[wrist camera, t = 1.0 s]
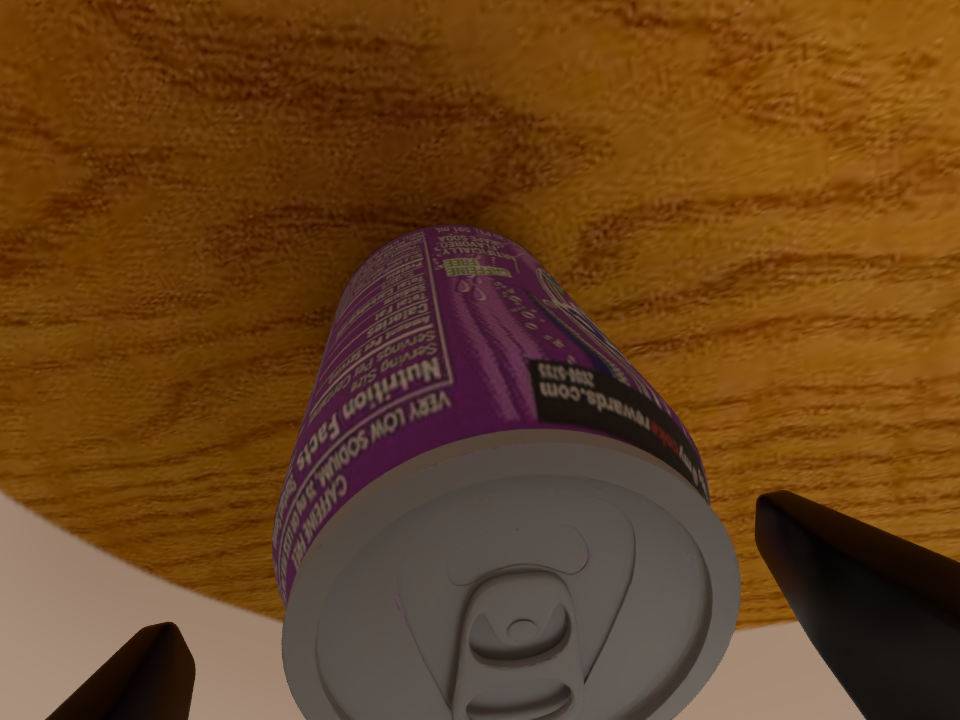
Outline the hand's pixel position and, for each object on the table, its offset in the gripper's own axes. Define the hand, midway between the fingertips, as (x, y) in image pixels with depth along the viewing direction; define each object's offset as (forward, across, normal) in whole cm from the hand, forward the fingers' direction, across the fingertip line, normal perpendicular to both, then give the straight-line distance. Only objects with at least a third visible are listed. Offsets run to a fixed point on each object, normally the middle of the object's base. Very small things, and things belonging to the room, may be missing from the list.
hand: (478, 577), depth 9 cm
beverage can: (+11, 0, 0) cm, 11 cm away
